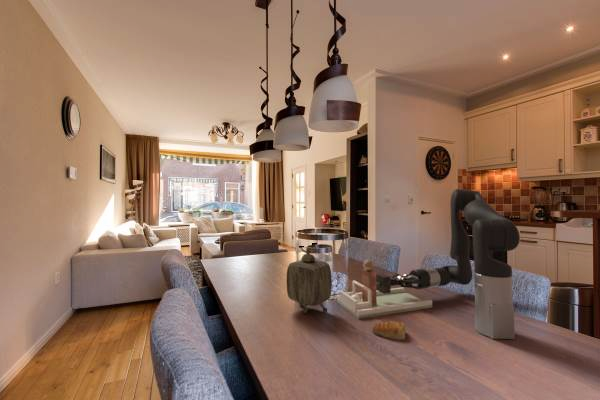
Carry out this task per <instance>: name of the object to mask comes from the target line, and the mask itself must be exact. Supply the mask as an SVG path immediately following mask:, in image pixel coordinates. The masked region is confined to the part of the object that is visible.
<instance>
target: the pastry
mask: <svg viewBox="0 0 600 400" xmlns="http://www.w3.org/2000/svg"><path fill="white" fill-rule="evenodd" d="M372 332H373V333H374V334H375V335H378V336H381V337H384V338H386V339H393V340H397V341H398V340H400V341H403V340H405V339H406V334H407V333H406V332H407V331H406V326H405V323H404V322H403V321H402V322H398V321H393V320H389V321H385V322H383V321H382V322H379V323H378V322H377V323H375V324H374V325H373V326H372Z"/></svg>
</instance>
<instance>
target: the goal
mask: <svg viewBox="0 0 600 400" xmlns="http://www.w3.org/2000/svg"><path fill="white" fill-rule="evenodd" d="M356 285H357V286H358V287H360V288H361V289H362V288H363V289H365V290H367V291H368V302H361V303H358V301H357V300H355V299H354V298H352V297H351V296H352V295H354V294H356V293H357V291H356V289H357V288H356V287H357V286H356ZM338 295H340V302H341V303H343V304H344V305H345V306H346V307H348V308H349V309H350V310H352V311H353V312H354V313H357V310H360V309H367V308H372V298H371V289H369V288H367V287H366V286H364V285H362V283H360V282H358V281H356V280H352V291H350V292H349V291H348V292H345V291H344V290H339V294H338Z"/></svg>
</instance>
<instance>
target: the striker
mask: <svg viewBox="0 0 600 400" xmlns="http://www.w3.org/2000/svg"><path fill="white" fill-rule="evenodd" d="M362 266H363V269H361V284H362V285H364V286H366V287H367V288H369V289H371V298H372V305H377V299H376V291H377V290H378V291H379V292H381V293H383V294H385V293H391V289H392V288H391V287H392V286H391V279H392V278H391V276H390V275H388V274H385V273H377V272H376V271H375V270H374V269H375V262H374V261H373V260H372V259H366V260H365V261H363V264H362ZM361 291H362V301H363V302H368V291H367V290H365V289H363V288H362V287H361Z"/></svg>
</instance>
